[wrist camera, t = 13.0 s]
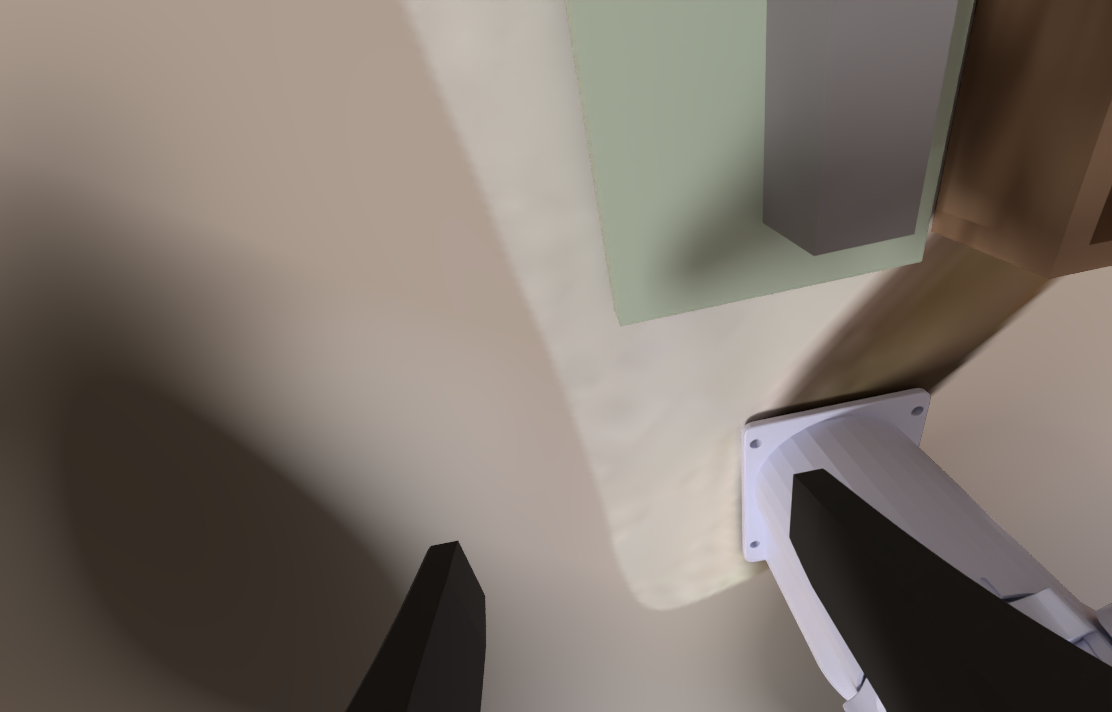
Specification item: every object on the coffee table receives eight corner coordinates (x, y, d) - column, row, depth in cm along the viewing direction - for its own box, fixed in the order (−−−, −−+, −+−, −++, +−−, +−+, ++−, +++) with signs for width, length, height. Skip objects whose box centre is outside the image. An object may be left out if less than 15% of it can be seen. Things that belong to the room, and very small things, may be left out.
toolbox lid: (878, 240, 18) (999, 300, 13) (609, 298, 18) (639, 375, 14) (970, -379, 10) (1305, -705, 6) (520, -254, 11) (522, -471, 7)
